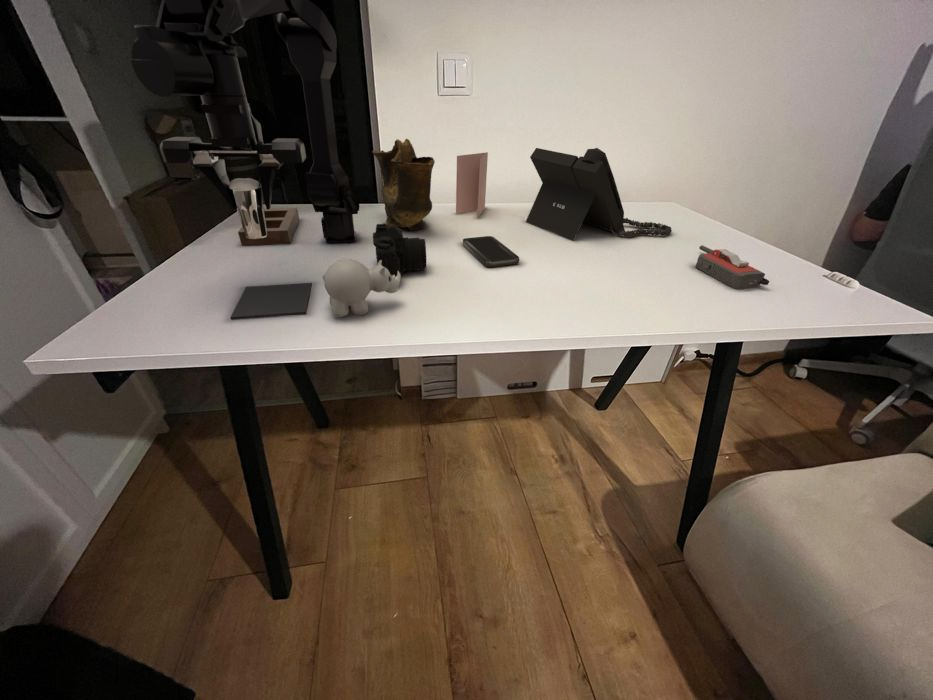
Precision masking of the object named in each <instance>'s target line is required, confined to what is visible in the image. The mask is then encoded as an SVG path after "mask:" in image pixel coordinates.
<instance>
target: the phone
mask: <svg viewBox="0 0 933 700" xmlns="http://www.w3.org/2000/svg"><path fill="white" fill-rule="evenodd" d="M462 246H463V247H464V248H465V249H466V250H467V251H469V252H470V253H471V255H472V256H474V258H476V259H477V260H478V261H479V262H480V263H481V264H482V265H483V266H484V267H486V268H497V267H505V266H514V265H518V264H519V263H520V256H519V255H517V254H516V253H515V252H514V251H512V250H511V249H510V248H509V247H507V246H506V245H505V244H503V243H502V242H500V241H499V240H498V239H497V238H496V237H494V236H491V235H485V236H476V237H475V236H473V237H466V238H463V239H462Z"/></svg>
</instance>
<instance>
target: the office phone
mask: <svg viewBox="0 0 933 700" xmlns="http://www.w3.org/2000/svg"><path fill="white" fill-rule="evenodd" d="M531 153H532V154H531V155H530V157H529V158H530V160H531V162H532V165H533V166H534V168H535V171H536V173H537V175H538V177H539V179H540V181H541V186H540V188H539V189H538V192H537V195H536V196H535V199H534V202H533V204H532V206H531V209H530V211H529V213H528V215H527V217H526V219H525V222H526V223H528V224H530V225H533V226H535V227H538V228H540V229H543V230H546V231H548V232H551V233H553V234H555V235H558V236H560V237H563V238H566V239H567V240H570V241H573V242H574V241H575V238H576V236H577V235H578V233H579V231H580V229H581V226H582V225H583V223H586V224H589V225H591V226H595V227H597V228H600V229H603V230H606V231H608V232H612V234H613V235H614V236H619V237H623V238H630V237H632V238H634V237H638V236H649V235H650V236H659V235H660V236H663V237H664V236H665V235H666V236H669V235H670V234H671V233H672V227H671V226H668V225H667V224H663V223H661V222H658V223H656V222H653V221H649V222H648V221H645V222H644V221H643V222H642V221H641V222H640V221H638V220H634V219H633V220H631V219H629V218H628V217H626V218H625V211H624V207H623V204H622V203H623V202H622V200H621V196H620V193H619V190H618V187H617V182H616V180H615V177H614V173H613V171H612V168H611V166H610V162H609V160H608V157H607V153H606V152H604V151H603V150H601V149H600V148H599V147H595V148H587V150H586V151H585V153H584V155H583V156H578V155H574V154H569V153H565V152H559V151H553V150H550V149H545V148H539V147H535V149H534V150H533V151H532V152H531ZM625 224H626V225H627V224H628V226H633V227H635V228H637V229H632V230H627V231H626V230H625V226H624V225H625ZM639 228H640V229H639Z"/></svg>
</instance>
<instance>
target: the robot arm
mask: <svg viewBox="0 0 933 700" xmlns="http://www.w3.org/2000/svg"><path fill="white" fill-rule="evenodd" d="M160 1H161V2H160V6H159V10H158V16H157V20H156V25H150V24H134V26H133V27H134V30H135V33H136V36H137V37H136V39H135V40H134V42H133V43H132V46H131V52H130V54H131V60H130V63H131V67H132V70H133V71H134V74H135V76H136V77H137V79H138V81H139V82H140V83H141V84H142V85H143V87H144V88H145V89H146V90H148V92H150V93H152V94H153V95H155V96H158V97H164V98H165V97H194V96H195V97H197V96H198V97H200V100H201V102H202V103H201V104H200V108H201V111H202V113H203V114H205V118H206V120H207V124H208V127H209V131H210V135H211V137H210V138H209V139H210V142H203V141H202V139H201V138H200V136H173V137H169V138H166V139H162V141H161V142H160V144H159V151H160V154H161V156H162V157H161V158H162V159H163V163H166V164H188V163H190V162H191V160H192V163H193V164H192V165H191V167H192V169H193V170H199V171H200V172H201V173H202V174H203V175H204V176H205V177H206V178H207V179H208V180H209V181H210V183H212V184H213V186H214V187H215V188H216V189H217V191H218V192H219V193H220V194H221V196H222V197H223V199H224V200H225V201H226V202H227V204H228V205H229V206H230V207H231V209H232V210H233V211H237V208H236V205H235V203H234V200H233V197H232V194H231V192H230V189H229V183H230V182H231V181H230V179H229V176H228V174H227V169H226V161H225V158H229V157H230V158H259V159H260V161H261V163H260V164H257V169H258V176H259V181H261V183H260V184H261V191H262V199H263V203H264V205H265V209H271V205H272V199H273V190H274V189H273V187H274V181H275V176H276V173H277V170H281V168H282V167H283V166H284V165H285V164H303V163H304V161H305V160H306V159H307V153H306V147H305V146H306V145H305V144H304V142H303V141H302V140H301V139H300V138H290V137H289V138H287V137H286V138H285V137H283V138H281V137H276V138H274V139H273V140H271V142H270V143H264V138H263V132H262V131H263V130H262V125H261V123H260V122H259V121H258V120H257V119H256V118H255V117H254V116H253V114H252V110H251V107H250V103H248V99H247V95H246V94H247V93H246V90H245V85H244V82H243V81H244V80H243V77H242V72H241V68H240V64H239V60H238V58H246V57H248V53H247V50H245V49H244V48H243V46H241V45H240V44H238V42H236V40H235V39H234V37H233V36H232V35H231V34H234V33H235V32H237V31H239V30H240V29H241V28H243V27H245V24H246V23H245V22H246V21H247V20H249V19H253V18H260V17H265V16H270V15H272V16H273V25H274V29H275V32H276V33H277V35H278V36H279V37H280V38H281V39H282V41H283V42H284V44H285V45H286V47H287V51H288V55H289V59H290V61H291V63H292V65H293V66H294V68H295V69H296V71H297V72H298V74H299V76H300V77H301V82H302V86H303V87H302V88H303V95H304V102H305V104H304V105H305V111H306V119H307V125H308V131H309V132H308V133H309V140H310V146H311V153H312V154H311V155H312V161H313V163H312V165H311V167H310V170H309V172H308V171H306V172H305V176H304V179H305V181H306V182H305V183H306V194H308V198H309V200H310V202H311V205H312V207H313V210H314V212H315V213H322V216H321V219H320V223H321V229H322V234H323V235H322V236H323V238H324V239H325V243H326V244H340V243H341V244H342V243H355V242H357V231H356V230H355V223H354V222H355V221H354V215H358V214H359V211H360V199H359V198H358V197H357V195H356V194H355V193H354V191H353V190H352V189H351V187H350V182H349V181H350V180H349V176H348V175H347V173H346V172H345V170H344V168H343V167H342V165H341V164H340V162H339V161H340V160H339V154H338V153H339V152H338V145H337V136H336V126H335V116H334V108H333V107H334V106H333V99H332V91H331V90H332V89H331V78H332V75H333V73H334V70H335V69H336V65H337V47H338V40H337V34H336V31H335V30H334V28H333V26H332V24H331V23H330V21H329V20H328V17H327V16H326V15H325V13H324V11H323V10H322V9H320V7H318V6H317V5H316V4H314V2H312V1H311V0H160ZM285 13H286V14H287V13H288V14H295V16H296V17H290V18H289V19H288V17H287V16H286V15H285Z"/></svg>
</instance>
